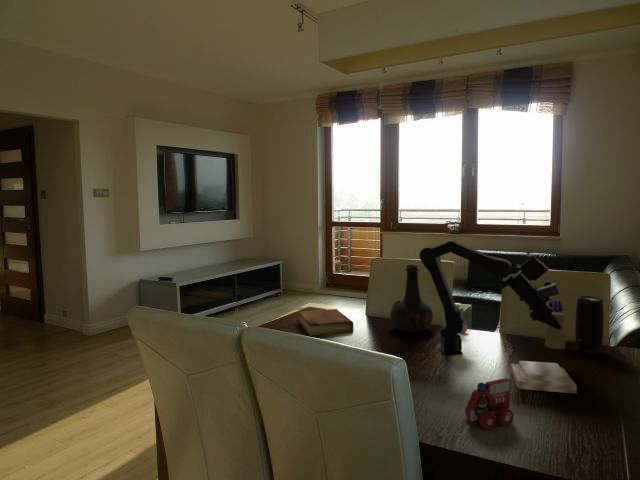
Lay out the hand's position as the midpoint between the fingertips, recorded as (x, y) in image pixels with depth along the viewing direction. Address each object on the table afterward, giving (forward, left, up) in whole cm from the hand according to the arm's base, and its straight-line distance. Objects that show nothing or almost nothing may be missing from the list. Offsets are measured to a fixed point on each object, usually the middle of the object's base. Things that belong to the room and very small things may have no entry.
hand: (560, 326), depth 147 cm
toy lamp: (+15, +22, -13) cm, 30 cm away
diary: (-66, +64, -14) cm, 93 cm away
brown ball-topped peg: (-1, +1, -7) cm, 7 cm away
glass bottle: (-30, +52, -13) cm, 62 cm away
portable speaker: (+20, +11, -13) cm, 27 cm away
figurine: (-13, +43, -13) cm, 47 cm away
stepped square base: (-14, -10, -13) cm, 21 cm away
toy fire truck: (-43, -30, -14) cm, 54 cm away
